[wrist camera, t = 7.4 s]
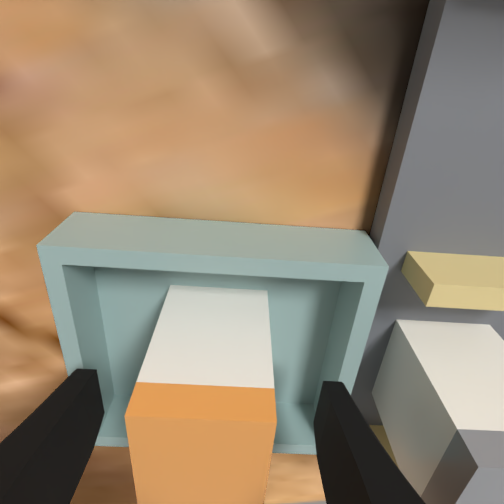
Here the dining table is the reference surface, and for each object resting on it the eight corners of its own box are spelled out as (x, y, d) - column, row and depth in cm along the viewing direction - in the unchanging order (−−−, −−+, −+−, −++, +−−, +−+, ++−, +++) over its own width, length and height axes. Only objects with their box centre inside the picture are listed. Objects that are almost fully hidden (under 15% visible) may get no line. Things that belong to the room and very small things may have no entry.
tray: (365, 230, 13) (389, 266, 11) (322, 404, 17) (332, 455, 15) (74, 211, 12) (36, 245, 10) (106, 394, 17) (85, 445, 15)
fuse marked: (267, 290, 13) (276, 422, 9) (258, 367, 15) (262, 511, 10) (170, 284, 13) (124, 415, 8) (173, 363, 15) (137, 506, 10)
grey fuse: (489, 324, 14) (622, 472, 9) (453, 396, 15) (545, 550, 11) (396, 319, 13) (478, 467, 9) (371, 392, 15) (427, 547, 10)
